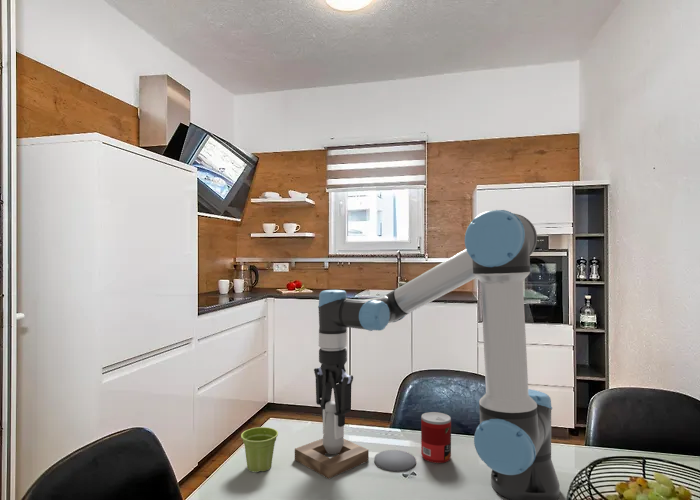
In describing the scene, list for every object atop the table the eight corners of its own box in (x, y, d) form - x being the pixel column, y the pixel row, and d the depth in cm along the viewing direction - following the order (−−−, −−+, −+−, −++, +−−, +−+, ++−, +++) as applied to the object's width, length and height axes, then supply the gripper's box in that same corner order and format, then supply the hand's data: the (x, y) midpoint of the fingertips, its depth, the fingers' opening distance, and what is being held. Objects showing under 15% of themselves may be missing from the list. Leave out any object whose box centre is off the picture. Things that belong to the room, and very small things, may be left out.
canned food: (451, 465, 120) (451, 423, 120) (420, 462, 121) (420, 420, 121) (450, 452, 127) (450, 412, 127) (421, 449, 129) (421, 410, 129)
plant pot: (256, 456, 125) (256, 424, 125) (285, 463, 121) (285, 430, 121) (233, 471, 116) (233, 437, 116) (263, 479, 112) (263, 443, 112)
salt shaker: (318, 451, 122) (317, 402, 122) (331, 444, 126) (330, 397, 127) (335, 457, 118) (335, 406, 118) (348, 449, 123) (348, 400, 123)
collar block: (368, 460, 122) (368, 449, 122) (328, 478, 112) (328, 466, 112) (333, 444, 132) (333, 434, 132) (294, 459, 122) (294, 448, 122)
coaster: (424, 461, 121) (424, 459, 121) (397, 475, 114) (397, 473, 114) (393, 448, 129) (393, 446, 129) (365, 460, 122) (365, 458, 122)
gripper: (365, 350, 119) (365, 440, 119) (323, 341, 131) (323, 422, 131) (344, 355, 114) (344, 449, 114) (302, 345, 126) (302, 430, 126)
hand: (333, 434), depth 122 cm, fingers closed on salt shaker, 4 cm apart
